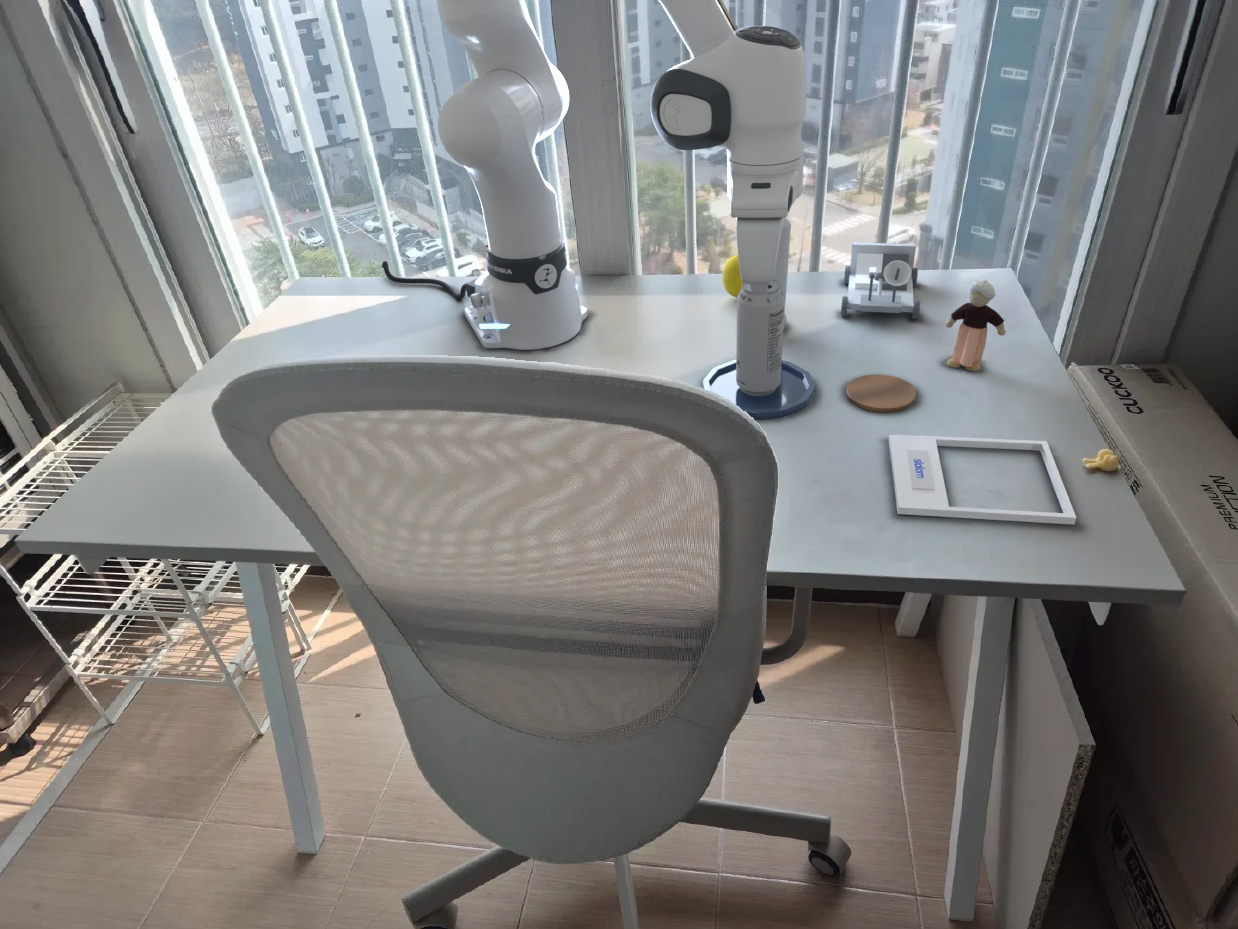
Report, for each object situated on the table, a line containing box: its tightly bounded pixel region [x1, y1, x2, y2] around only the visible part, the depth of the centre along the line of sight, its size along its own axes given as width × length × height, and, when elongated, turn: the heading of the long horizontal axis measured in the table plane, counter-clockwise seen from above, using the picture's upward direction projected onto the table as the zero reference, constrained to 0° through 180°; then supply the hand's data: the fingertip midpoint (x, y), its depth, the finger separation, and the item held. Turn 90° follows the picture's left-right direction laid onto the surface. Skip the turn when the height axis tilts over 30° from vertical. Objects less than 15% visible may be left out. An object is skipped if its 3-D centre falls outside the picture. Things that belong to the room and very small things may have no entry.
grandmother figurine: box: [944, 279, 1007, 372], centre depth 116 cm, size 8×4×13 cm, turn 70°
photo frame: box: [888, 434, 1077, 526], centre depth 98 cm, size 15×1×18 cm
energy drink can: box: [735, 279, 785, 396], centre depth 113 cm, size 6×6×15 cm
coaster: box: [845, 374, 917, 413], centre depth 115 cm, size 9×9×1 cm
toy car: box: [840, 241, 921, 320], centre depth 135 cm, size 18×10×12 cm
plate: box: [701, 359, 816, 421], centre depth 117 cm, size 15×15×1 cm
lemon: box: [722, 253, 743, 299], centre depth 140 cm, size 6×6×8 cm
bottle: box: [773, 217, 792, 330], centre depth 126 cm, size 5×5×25 cm
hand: (763, 289), depth 109 cm, fingers open, 8 cm apart
